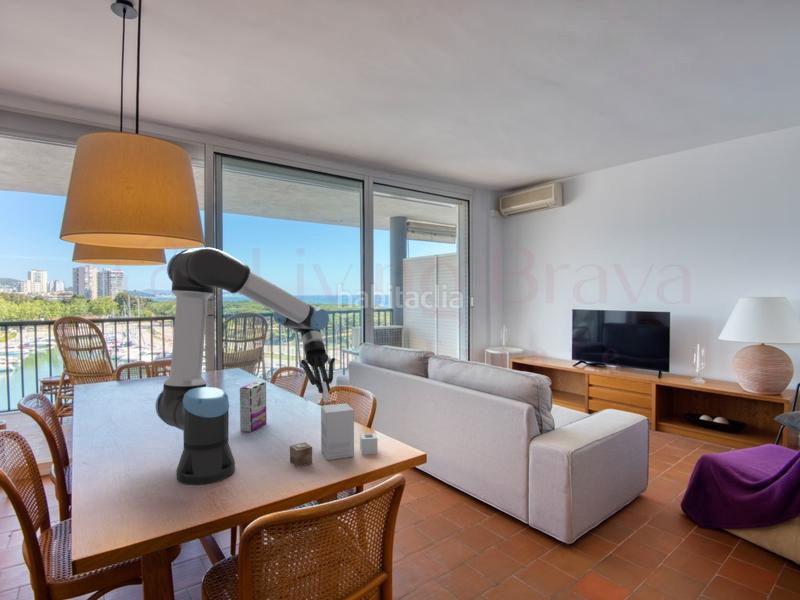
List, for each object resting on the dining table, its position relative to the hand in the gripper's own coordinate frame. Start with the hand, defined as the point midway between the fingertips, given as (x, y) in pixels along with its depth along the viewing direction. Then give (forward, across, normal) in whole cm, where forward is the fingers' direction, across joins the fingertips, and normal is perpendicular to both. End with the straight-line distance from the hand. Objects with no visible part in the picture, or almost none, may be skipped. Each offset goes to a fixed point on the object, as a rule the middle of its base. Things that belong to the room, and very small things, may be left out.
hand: (326, 400), depth 146 cm
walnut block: (+20, +12, -2) cm, 23 cm away
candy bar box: (-9, +20, -30) cm, 38 cm away
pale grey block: (+20, -10, -1) cm, 22 cm away
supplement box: (+18, 0, -3) cm, 19 cm away
